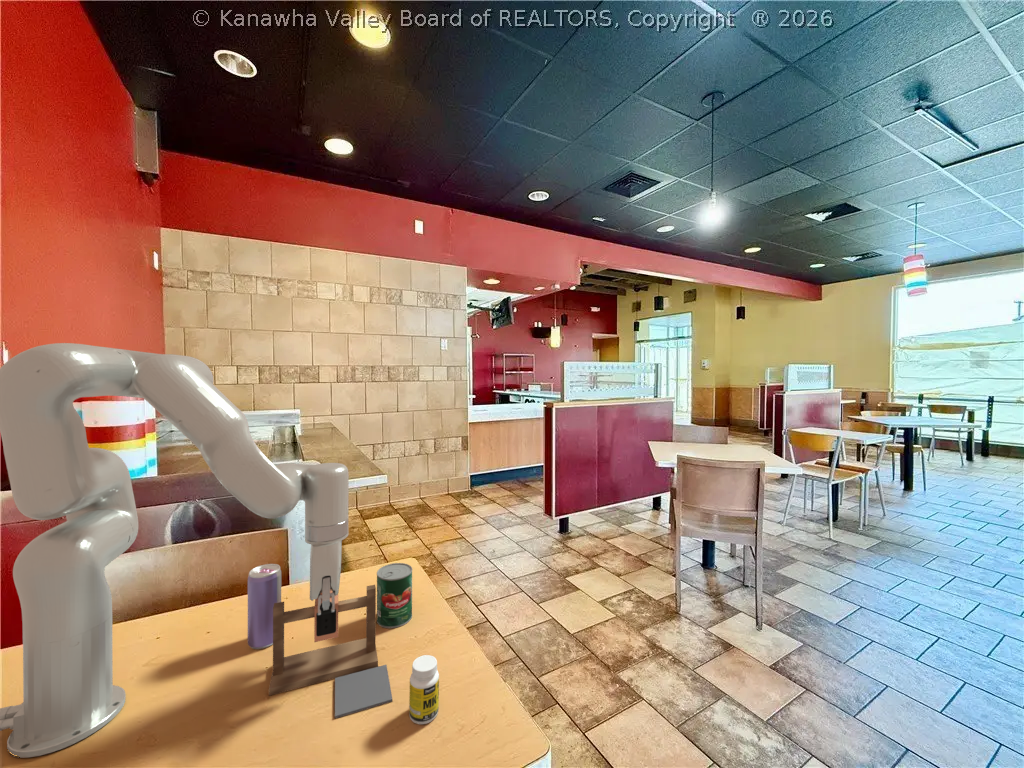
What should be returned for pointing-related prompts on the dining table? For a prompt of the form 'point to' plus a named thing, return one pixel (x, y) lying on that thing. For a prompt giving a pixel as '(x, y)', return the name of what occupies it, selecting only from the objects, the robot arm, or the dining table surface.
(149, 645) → the dining table surface
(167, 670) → the dining table surface
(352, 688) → the mat
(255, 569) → the beverage can
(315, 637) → the c link
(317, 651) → the stand
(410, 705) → the supplement bottle
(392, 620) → the canned tomato
